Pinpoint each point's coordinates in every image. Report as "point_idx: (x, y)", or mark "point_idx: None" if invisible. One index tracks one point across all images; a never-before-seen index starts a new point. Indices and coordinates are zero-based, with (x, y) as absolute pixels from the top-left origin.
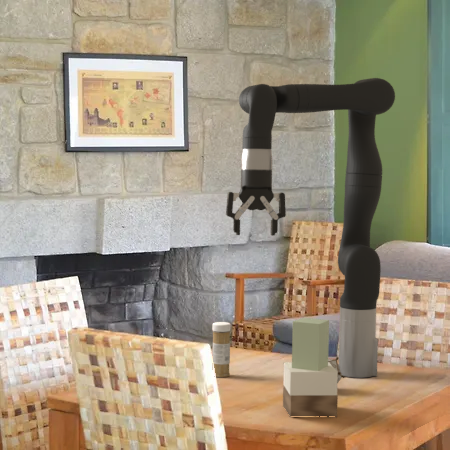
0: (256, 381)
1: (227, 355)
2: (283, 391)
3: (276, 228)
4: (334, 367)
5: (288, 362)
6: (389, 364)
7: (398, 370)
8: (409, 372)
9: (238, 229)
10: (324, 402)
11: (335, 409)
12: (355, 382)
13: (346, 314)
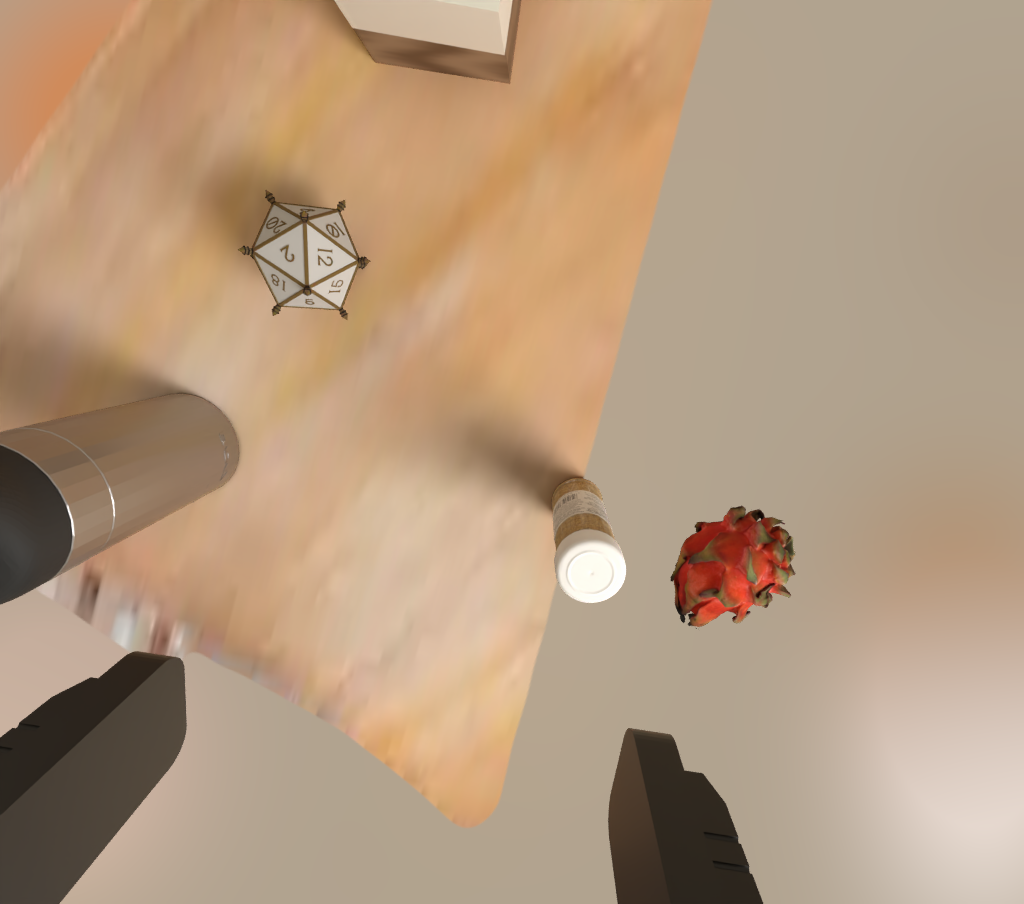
0: (496, 415)
1: (566, 503)
2: (508, 54)
3: (31, 733)
4: (275, 216)
5: (481, 3)
6: None
7: None
8: None
9: (671, 788)
10: None
11: None
12: (217, 347)
13: (74, 474)
